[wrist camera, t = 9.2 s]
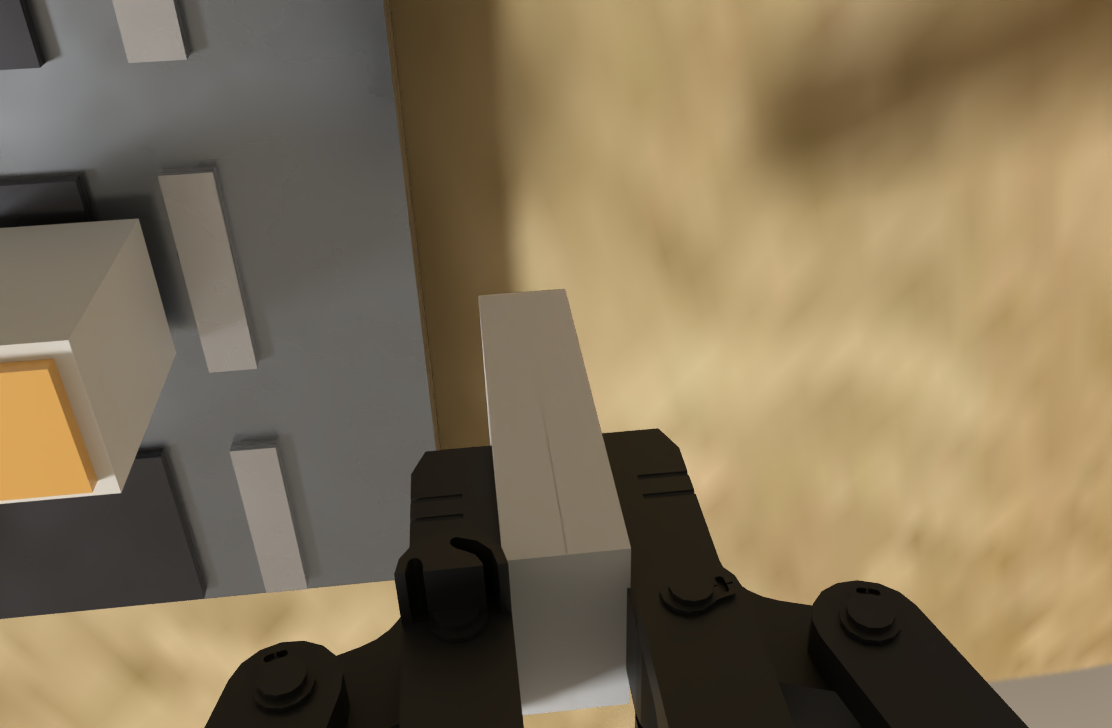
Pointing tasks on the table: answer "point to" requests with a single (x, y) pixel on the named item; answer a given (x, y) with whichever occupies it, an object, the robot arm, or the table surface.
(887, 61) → the table surface
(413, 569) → the robot arm
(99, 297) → the block
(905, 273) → the table surface
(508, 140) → the table surface
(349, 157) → the panel
